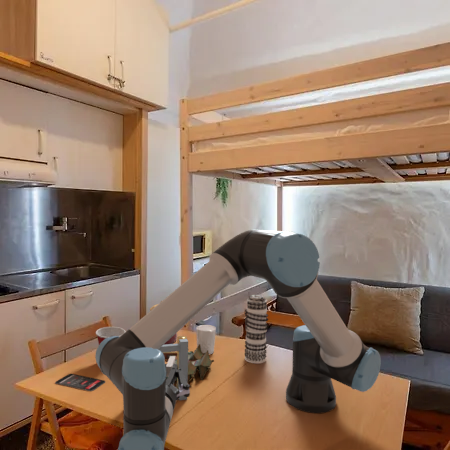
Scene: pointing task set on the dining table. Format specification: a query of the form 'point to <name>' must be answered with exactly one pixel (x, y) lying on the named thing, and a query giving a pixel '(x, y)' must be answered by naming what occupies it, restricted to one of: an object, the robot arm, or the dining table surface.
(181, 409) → the dining table surface
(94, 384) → the smartphone
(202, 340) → the white cup
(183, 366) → the grey rectangular frame
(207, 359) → the miniature gate
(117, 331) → the plastic cup
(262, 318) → the decorative candle
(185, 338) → the latch post
